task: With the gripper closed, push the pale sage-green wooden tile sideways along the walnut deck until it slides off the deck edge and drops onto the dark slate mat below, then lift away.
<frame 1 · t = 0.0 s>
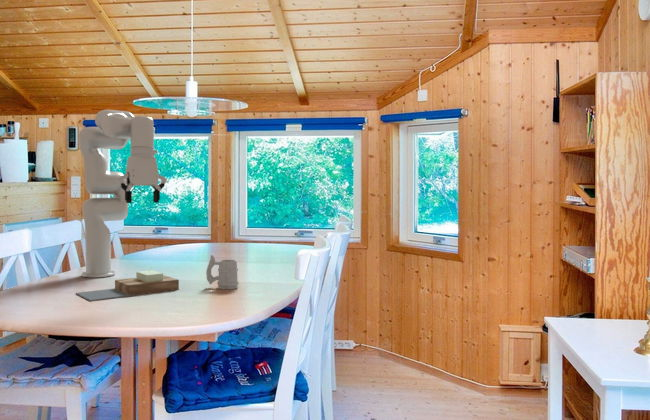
hand: (142, 202, 194), 31 cm above the table, fingers open, 9 cm apart
deck: (147, 289, 200), on the table
mug: (222, 288, 205), on the table
tile: (149, 276, 200), point 5 cm above the table, touching deck
mat: (104, 294, 190), on the table
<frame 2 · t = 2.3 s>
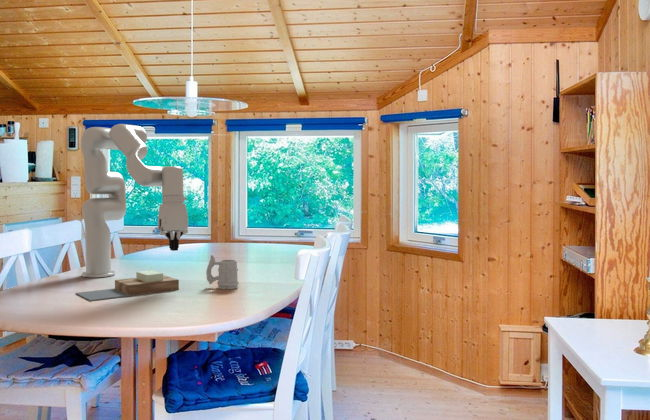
hand: (174, 250, 206), 13 cm above the table, fingers closed
nothing on the table moved.
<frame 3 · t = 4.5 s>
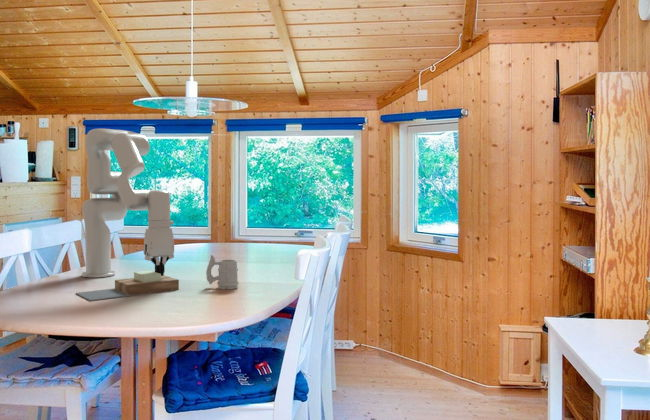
hand: (159, 275, 203), 5 cm above the table, fingers closed
tile: (147, 276, 200), point 5 cm above the table, touching deck, gripper
everything else where it was.
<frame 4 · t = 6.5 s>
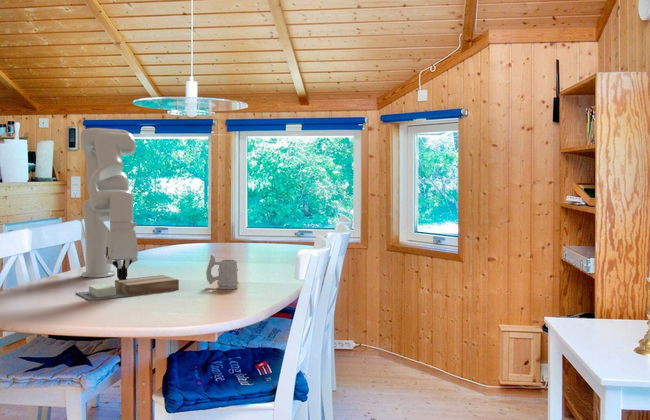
hand: (122, 279, 194), 5 cm above the table, fingers closed
tile: (102, 290, 190), point 2 cm above the table, tilted 180°, touching mat
everything else where it was.
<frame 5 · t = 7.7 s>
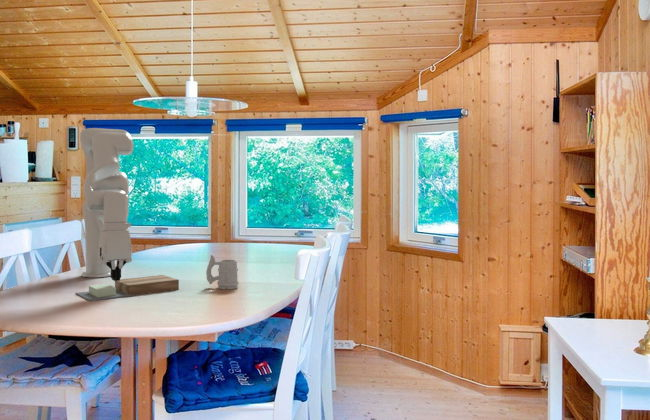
hand: (116, 280, 193), 5 cm above the table, fingers closed
nothing on the table moved.
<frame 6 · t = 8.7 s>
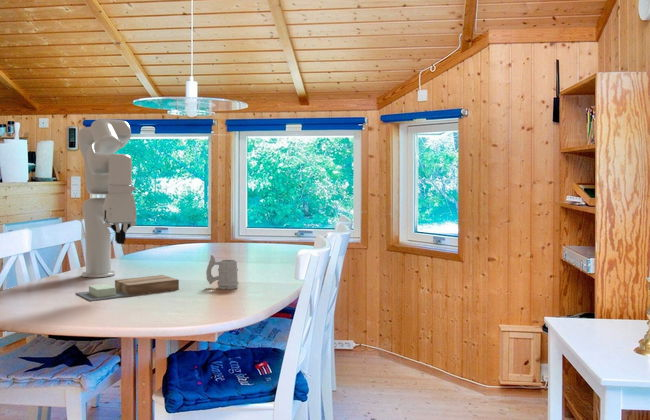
hand: (120, 243, 194), 17 cm above the table, fingers closed
nothing on the table moved.
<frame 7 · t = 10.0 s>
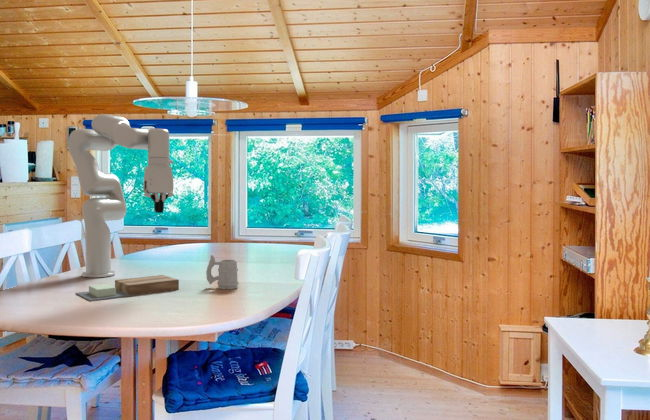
hand: (159, 212, 207), 27 cm above the table, fingers closed
nothing on the table moved.
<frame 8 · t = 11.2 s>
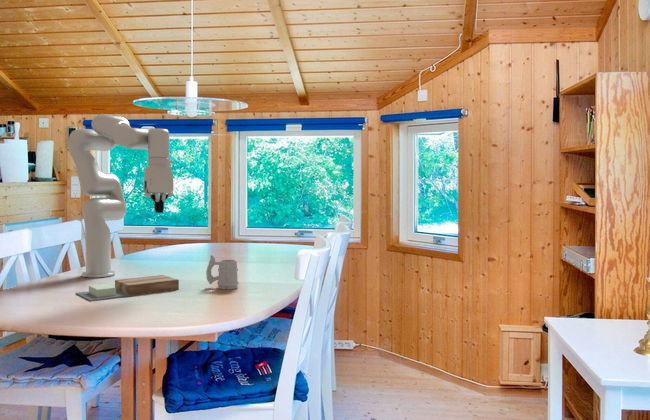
hand: (159, 212, 207), 27 cm above the table, fingers closed
nothing on the table moved.
at the end: tile point 1.6 cm above the table; tile inside the target area on the mat (0.6 cm from its centre), point 1.6 cm above the mat's base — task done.
